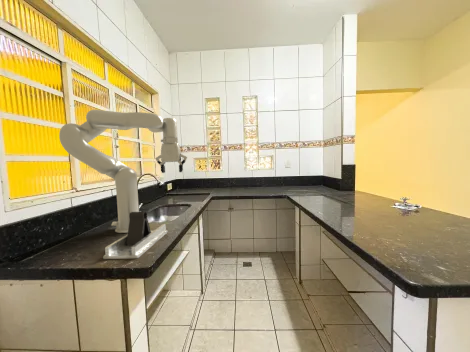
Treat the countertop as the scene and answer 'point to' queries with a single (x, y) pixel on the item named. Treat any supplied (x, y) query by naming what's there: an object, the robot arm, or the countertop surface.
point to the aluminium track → (133, 251)
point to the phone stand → (137, 227)
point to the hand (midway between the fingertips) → (172, 172)
